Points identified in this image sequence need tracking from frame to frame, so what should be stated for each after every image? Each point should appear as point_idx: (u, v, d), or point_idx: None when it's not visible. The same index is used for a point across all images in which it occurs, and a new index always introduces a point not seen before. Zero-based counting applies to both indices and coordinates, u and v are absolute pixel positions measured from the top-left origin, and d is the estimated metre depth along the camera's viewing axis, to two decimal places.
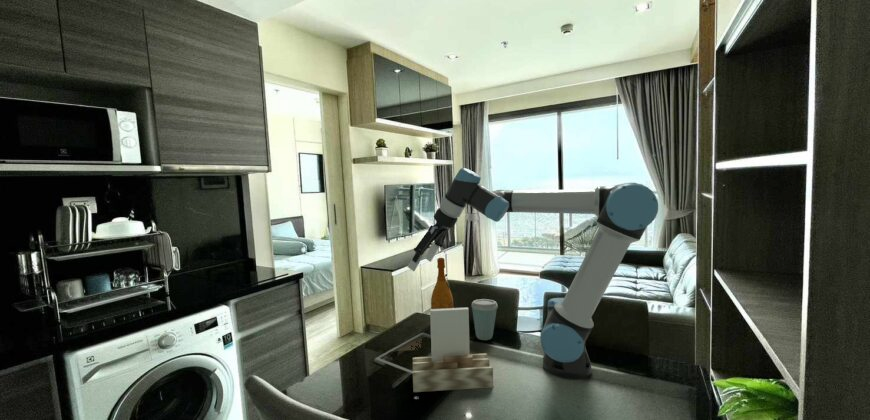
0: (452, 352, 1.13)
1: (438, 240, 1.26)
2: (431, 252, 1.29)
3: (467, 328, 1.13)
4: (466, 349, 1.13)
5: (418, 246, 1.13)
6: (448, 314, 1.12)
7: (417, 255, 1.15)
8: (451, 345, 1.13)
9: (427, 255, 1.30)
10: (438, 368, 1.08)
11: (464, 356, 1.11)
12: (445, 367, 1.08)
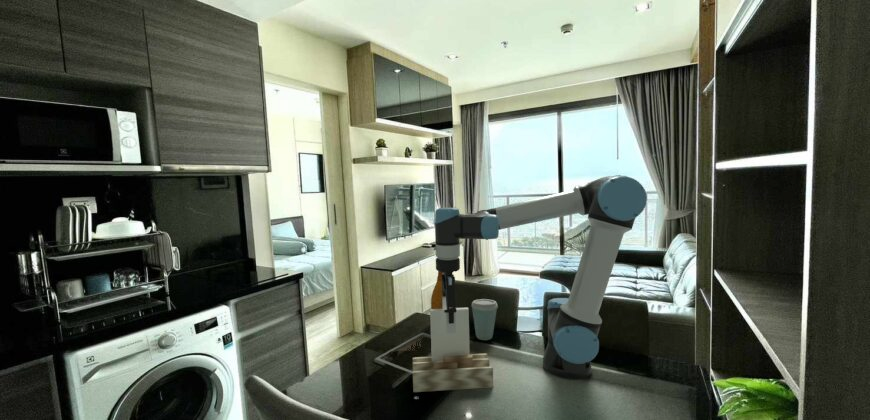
0: (452, 352, 1.13)
1: None
2: (446, 307, 1.19)
3: (467, 328, 1.13)
4: (466, 349, 1.13)
5: (449, 305, 1.03)
6: None
7: (451, 315, 1.04)
8: (451, 345, 1.13)
9: None
10: (438, 368, 1.08)
11: (464, 356, 1.11)
12: (445, 367, 1.08)
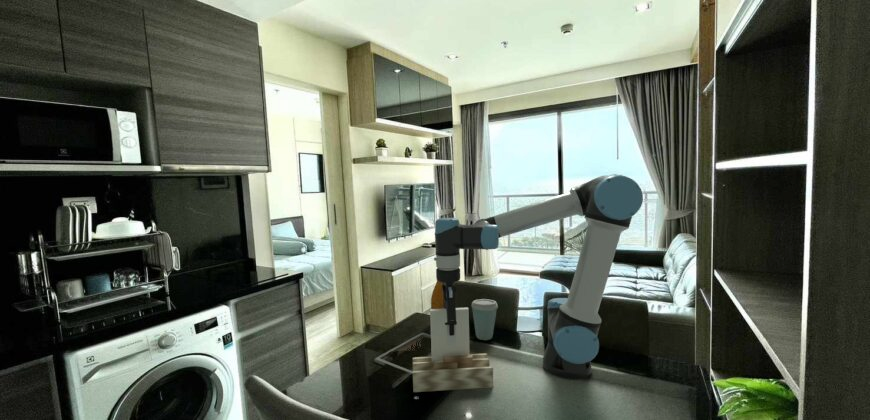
0: (452, 352, 1.13)
1: None
2: None
3: (467, 328, 1.13)
4: (466, 349, 1.13)
5: (449, 318, 1.04)
6: None
7: (452, 327, 1.06)
8: (451, 345, 1.13)
9: None
10: (438, 368, 1.08)
11: (464, 356, 1.11)
12: (445, 367, 1.08)
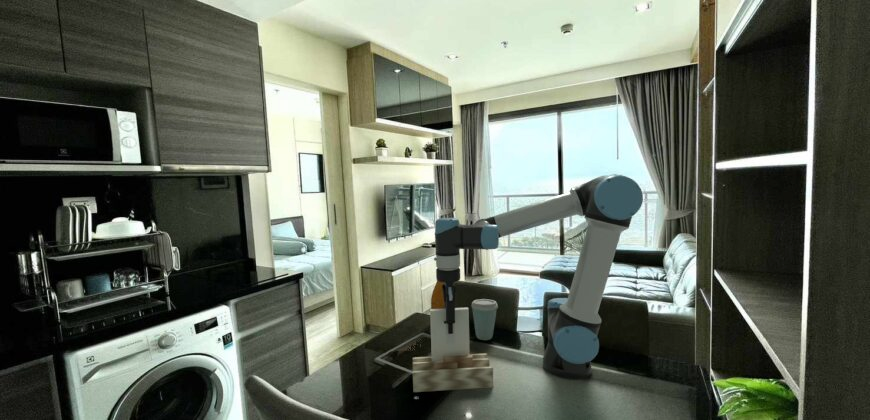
0: (452, 352, 1.13)
1: None
2: None
3: (467, 328, 1.13)
4: (466, 349, 1.13)
5: (448, 318, 1.08)
6: None
7: (451, 325, 1.10)
8: (451, 345, 1.13)
9: None
10: (438, 368, 1.08)
11: (464, 356, 1.11)
12: (445, 367, 1.08)
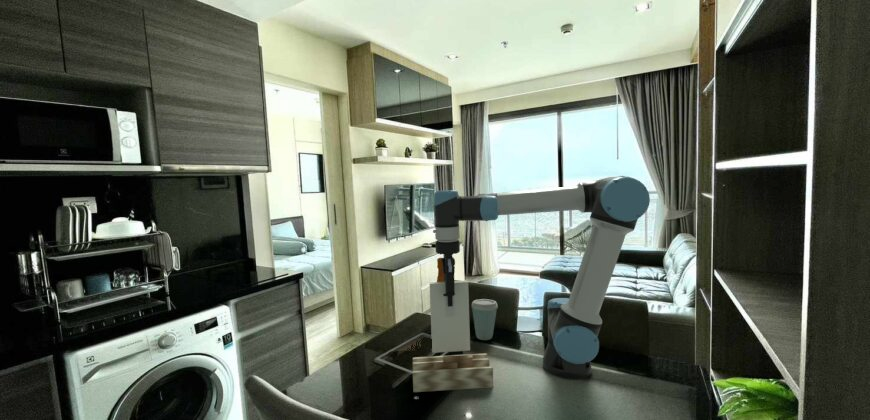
0: (452, 325, 1.12)
1: None
2: None
3: (467, 301, 1.12)
4: (466, 322, 1.12)
5: (448, 290, 1.07)
6: None
7: (450, 298, 1.10)
8: (451, 318, 1.12)
9: None
10: (438, 368, 1.08)
11: (464, 356, 1.11)
12: (445, 367, 1.08)
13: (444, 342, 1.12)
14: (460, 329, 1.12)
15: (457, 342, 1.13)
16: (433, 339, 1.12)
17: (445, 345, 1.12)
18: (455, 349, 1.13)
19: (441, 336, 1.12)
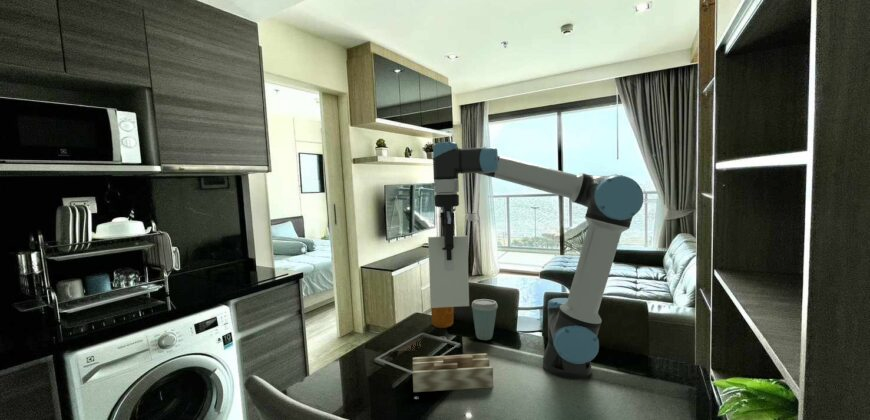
0: (451, 280, 1.11)
1: None
2: None
3: (466, 256, 1.11)
4: (465, 277, 1.11)
5: (447, 243, 1.06)
6: None
7: (449, 252, 1.09)
8: (450, 273, 1.11)
9: None
10: (438, 368, 1.08)
11: (464, 356, 1.11)
12: (445, 367, 1.08)
13: (443, 297, 1.11)
14: (459, 285, 1.11)
15: (456, 297, 1.12)
16: (432, 294, 1.11)
17: (444, 300, 1.11)
18: (454, 304, 1.12)
19: (439, 291, 1.11)
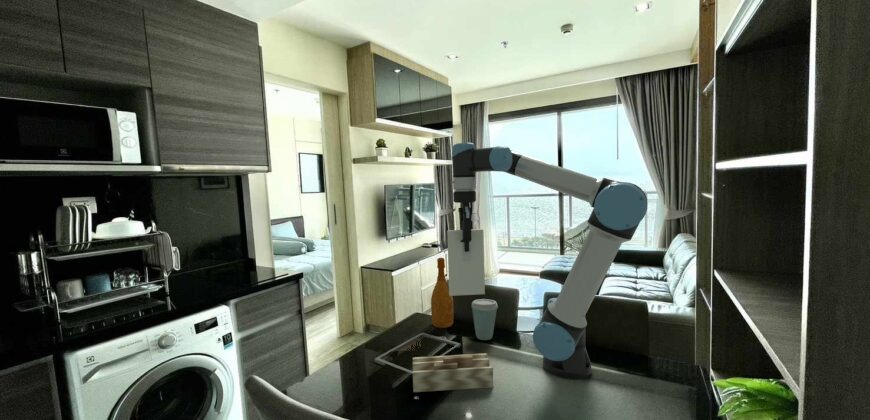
0: (468, 270, 1.20)
1: None
2: None
3: (482, 248, 1.20)
4: (481, 268, 1.21)
5: (465, 235, 1.16)
6: None
7: (467, 244, 1.18)
8: (467, 264, 1.20)
9: None
10: (438, 368, 1.08)
11: (464, 356, 1.11)
12: (445, 367, 1.08)
13: (461, 286, 1.21)
14: (475, 274, 1.21)
15: (473, 286, 1.21)
16: (450, 283, 1.20)
17: (461, 289, 1.21)
18: (471, 293, 1.21)
19: (457, 280, 1.20)
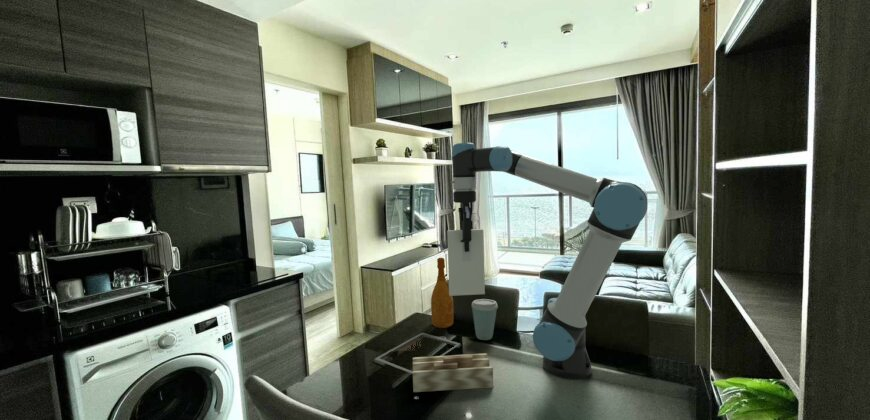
0: (468, 270, 1.20)
1: None
2: None
3: (482, 248, 1.20)
4: (481, 268, 1.21)
5: (465, 235, 1.16)
6: None
7: (467, 244, 1.18)
8: (467, 264, 1.20)
9: None
10: (438, 368, 1.08)
11: (464, 356, 1.11)
12: (445, 367, 1.08)
13: (461, 286, 1.21)
14: (475, 274, 1.21)
15: (473, 286, 1.21)
16: (450, 283, 1.20)
17: (461, 289, 1.21)
18: (471, 293, 1.21)
19: (457, 280, 1.20)
